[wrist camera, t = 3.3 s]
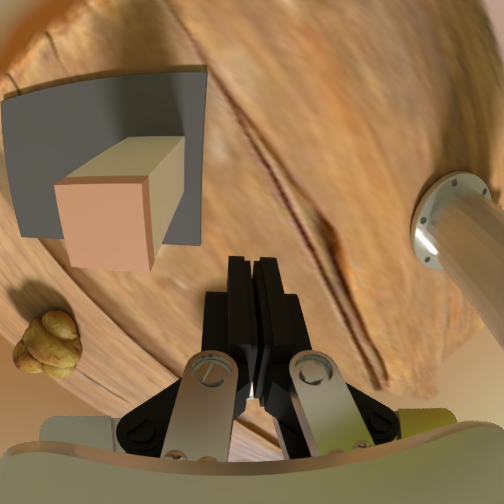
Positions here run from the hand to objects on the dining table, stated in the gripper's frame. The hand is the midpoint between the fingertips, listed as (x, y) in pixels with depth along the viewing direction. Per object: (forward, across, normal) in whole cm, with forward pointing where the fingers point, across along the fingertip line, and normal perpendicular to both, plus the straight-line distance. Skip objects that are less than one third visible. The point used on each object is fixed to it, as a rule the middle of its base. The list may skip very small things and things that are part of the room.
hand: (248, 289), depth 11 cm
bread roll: (+18, +25, +24) cm, 39 cm away
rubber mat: (+17, +14, 0) cm, 22 cm away
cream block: (+16, +7, 0) cm, 18 cm away
